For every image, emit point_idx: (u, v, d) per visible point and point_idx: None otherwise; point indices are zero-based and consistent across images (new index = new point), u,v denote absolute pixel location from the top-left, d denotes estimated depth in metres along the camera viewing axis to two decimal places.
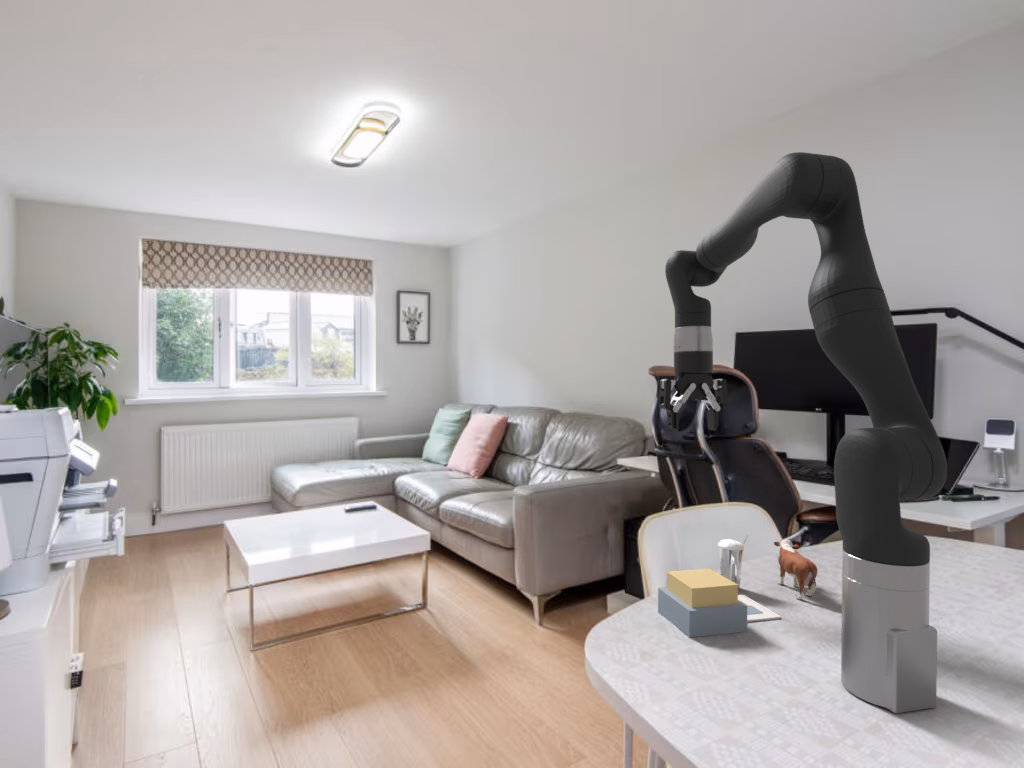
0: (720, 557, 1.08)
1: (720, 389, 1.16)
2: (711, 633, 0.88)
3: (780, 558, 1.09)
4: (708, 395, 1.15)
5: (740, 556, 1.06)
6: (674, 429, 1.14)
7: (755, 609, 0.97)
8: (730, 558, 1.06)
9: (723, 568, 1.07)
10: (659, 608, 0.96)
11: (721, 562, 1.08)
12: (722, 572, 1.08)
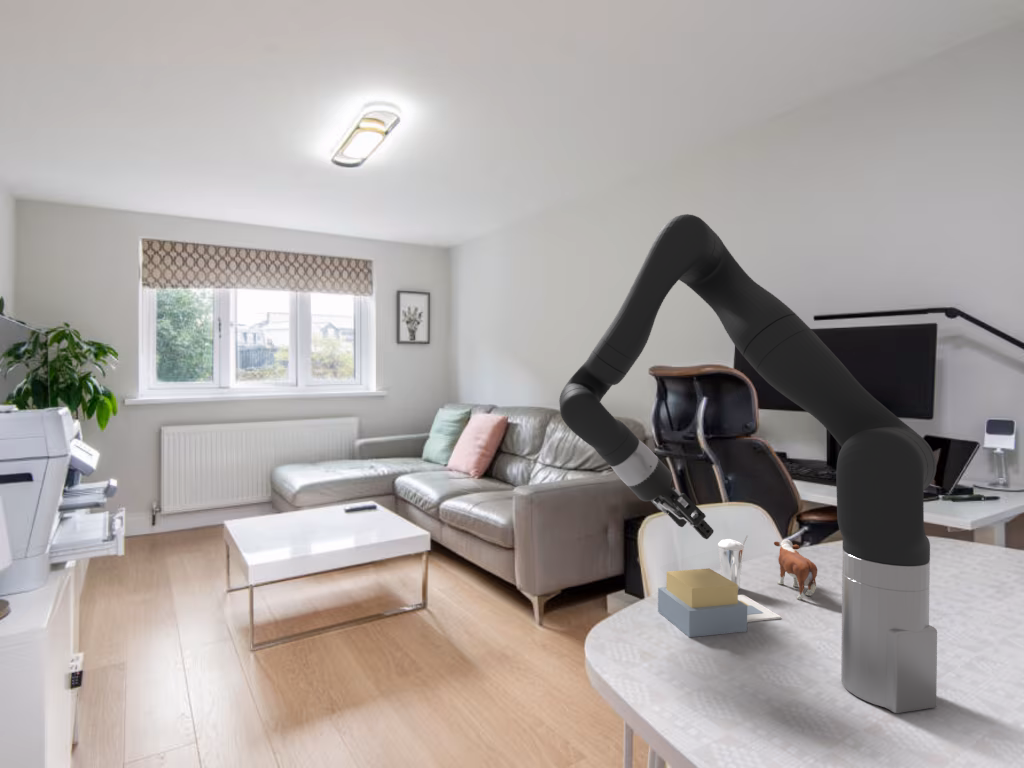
0: (720, 557, 1.08)
1: None
2: (711, 633, 0.88)
3: (780, 558, 1.09)
4: None
5: (740, 556, 1.06)
6: None
7: (755, 609, 0.97)
8: (730, 558, 1.06)
9: (723, 568, 1.07)
10: (659, 608, 0.96)
11: (721, 562, 1.08)
12: (722, 572, 1.08)
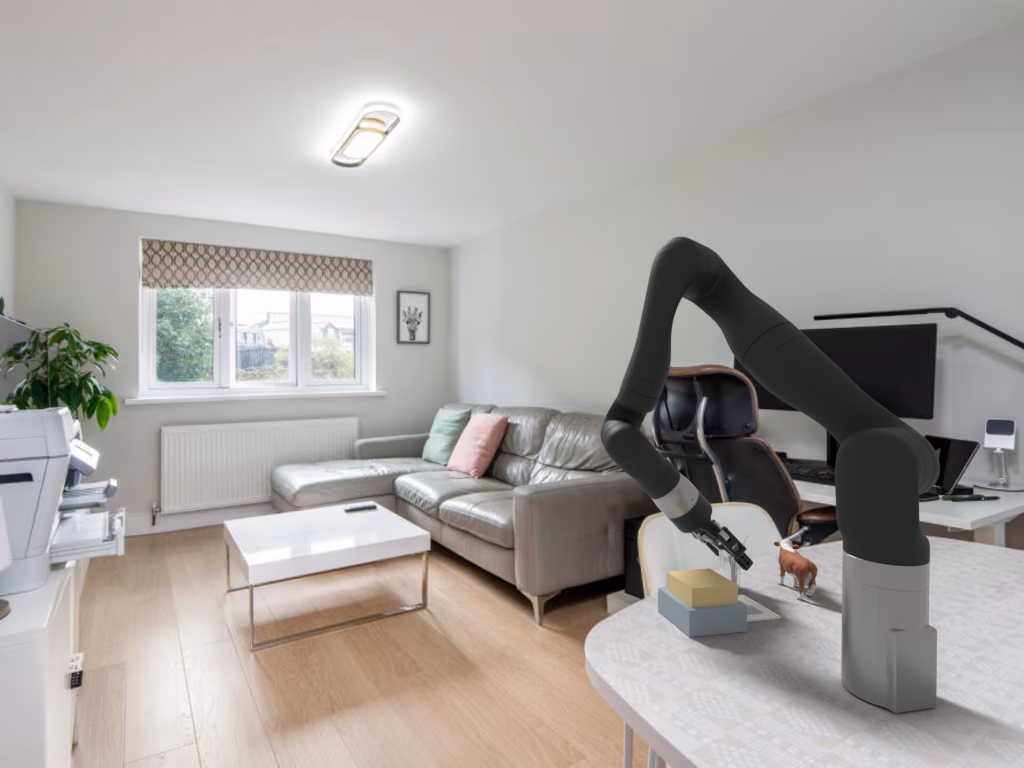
0: (720, 557, 1.08)
1: None
2: (711, 633, 0.88)
3: (780, 558, 1.09)
4: None
5: None
6: None
7: (755, 609, 0.97)
8: (730, 558, 1.06)
9: (723, 568, 1.07)
10: (659, 608, 0.96)
11: (721, 562, 1.08)
12: (722, 572, 1.08)
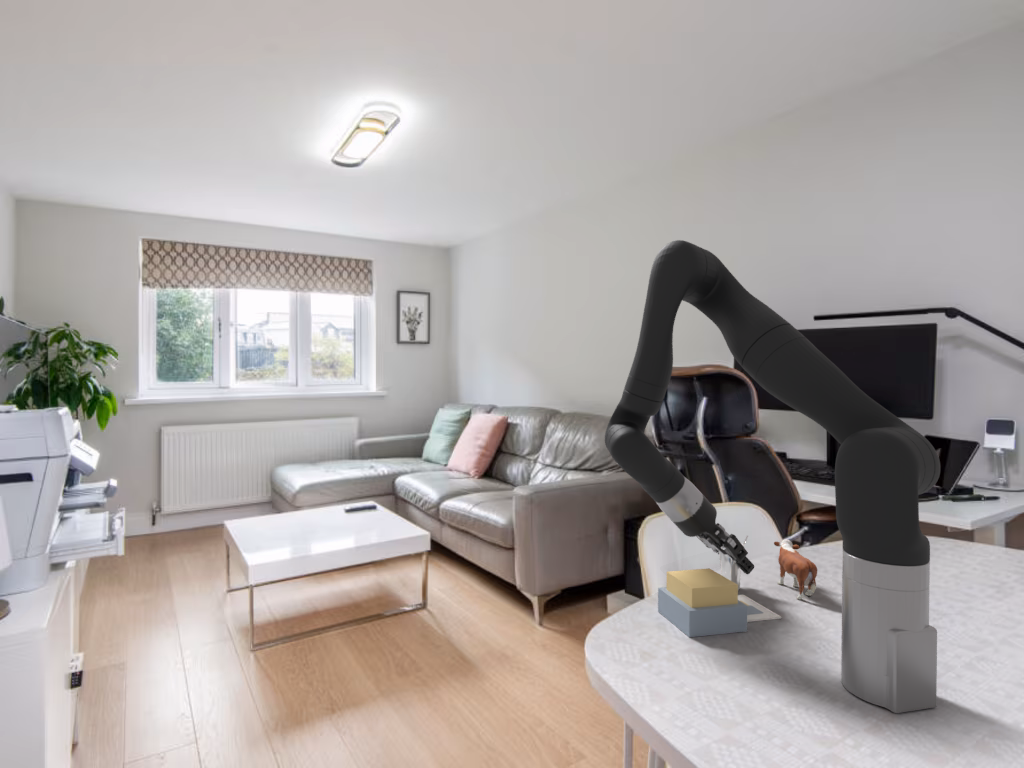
0: (720, 557, 1.08)
1: None
2: (711, 633, 0.88)
3: (780, 558, 1.09)
4: None
5: None
6: None
7: (755, 609, 0.97)
8: None
9: (723, 568, 1.07)
10: (659, 608, 0.96)
11: (722, 562, 1.08)
12: (722, 572, 1.08)
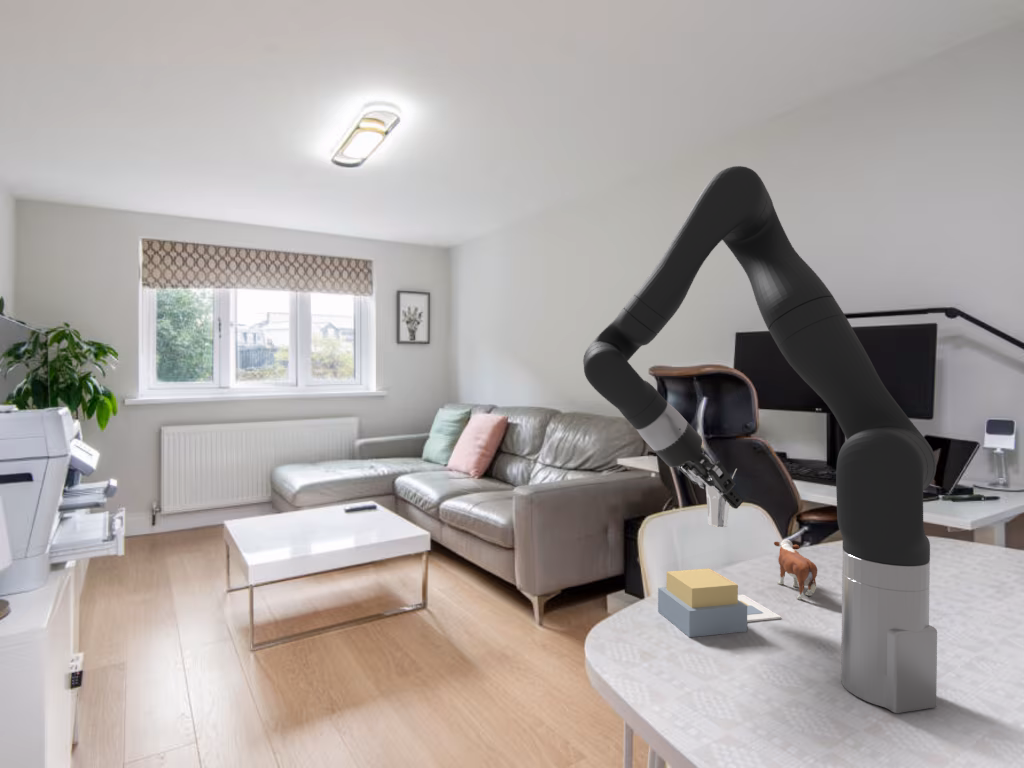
0: (707, 491, 1.00)
1: None
2: (711, 633, 0.88)
3: (780, 558, 1.09)
4: None
5: None
6: (740, 501, 0.98)
7: (755, 609, 0.97)
8: (717, 492, 0.99)
9: (710, 503, 1.00)
10: (659, 608, 0.96)
11: (708, 497, 1.00)
12: (709, 507, 1.00)
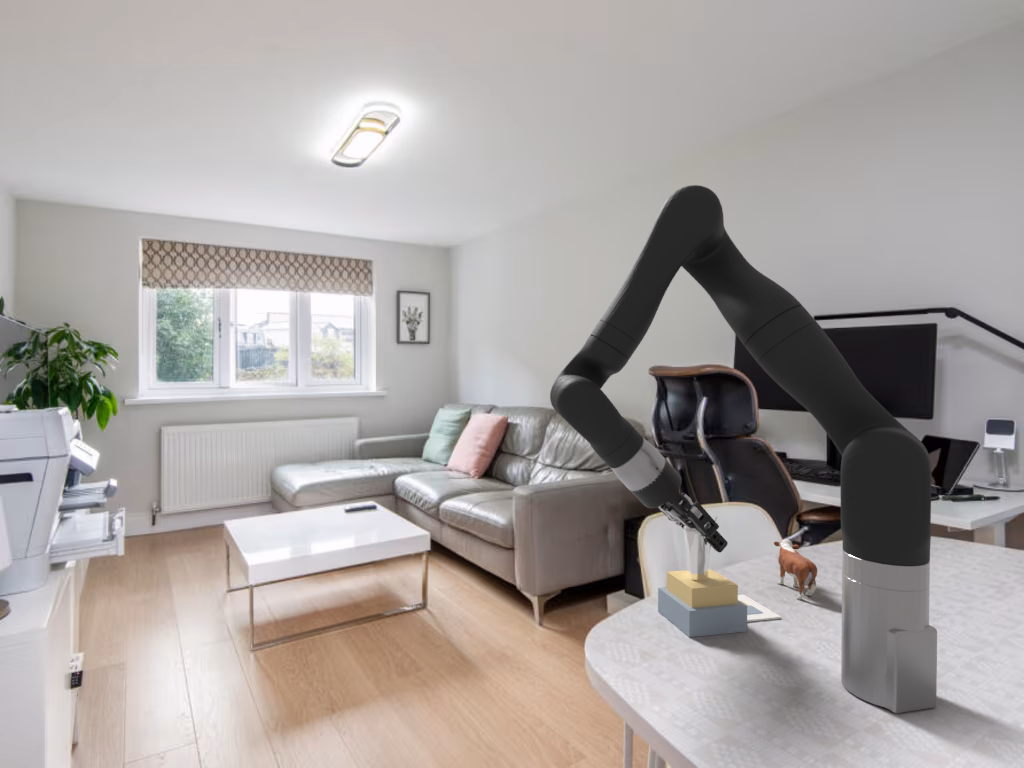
0: (685, 542, 0.93)
1: None
2: (711, 633, 0.88)
3: (780, 558, 1.09)
4: None
5: None
6: None
7: (755, 609, 0.97)
8: (696, 543, 0.91)
9: (689, 554, 0.92)
10: (659, 608, 0.96)
11: (687, 548, 0.93)
12: (688, 559, 0.93)
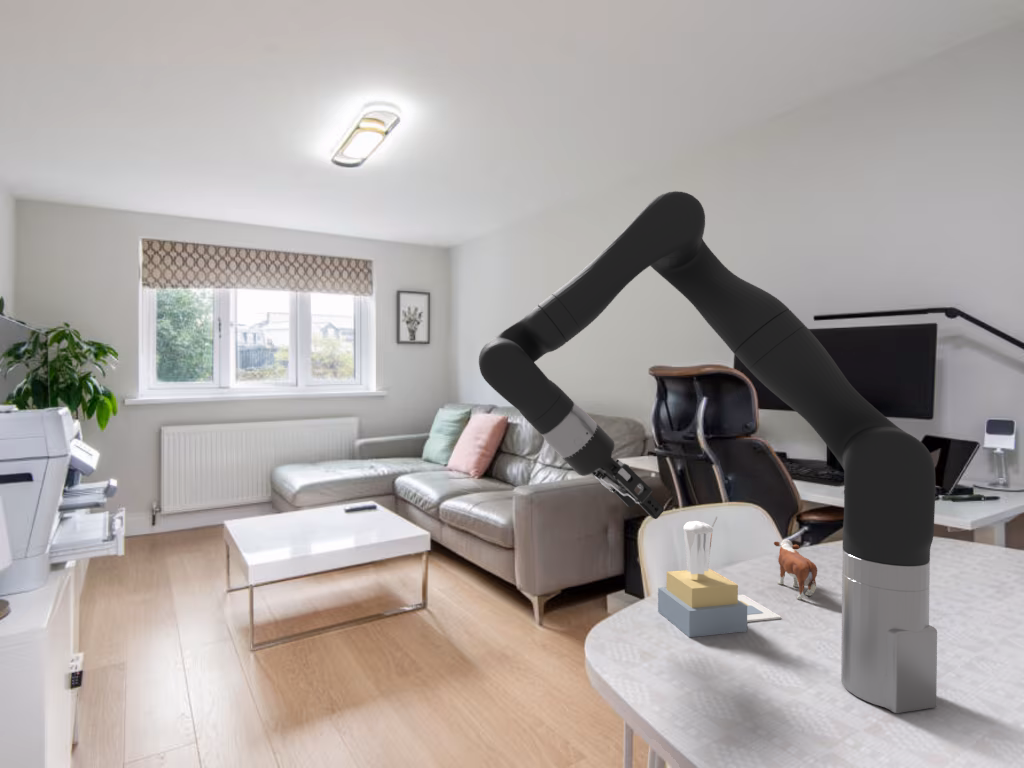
0: (685, 542, 0.93)
1: None
2: (711, 633, 0.88)
3: (780, 558, 1.09)
4: None
5: (708, 540, 0.91)
6: (660, 510, 0.86)
7: (755, 609, 0.97)
8: (696, 543, 0.91)
9: (689, 554, 0.92)
10: (659, 608, 0.96)
11: (687, 548, 0.93)
12: (688, 559, 0.93)
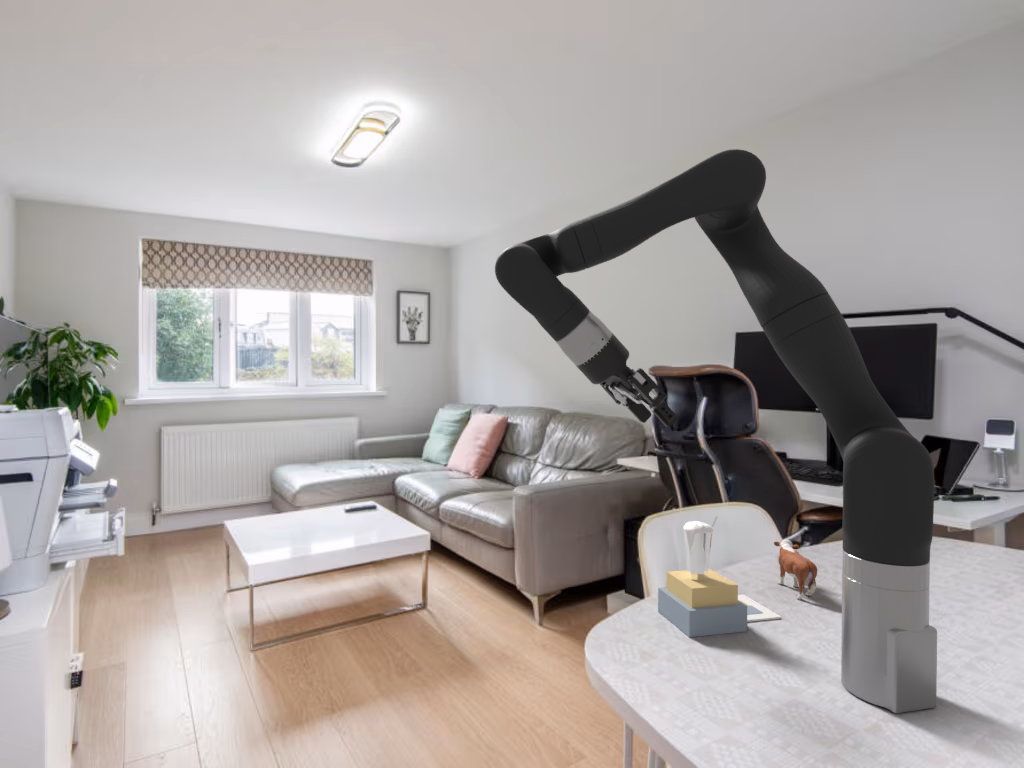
0: (685, 542, 0.93)
1: None
2: (711, 633, 0.88)
3: (780, 558, 1.09)
4: None
5: (708, 540, 0.91)
6: (674, 418, 0.87)
7: (755, 609, 0.97)
8: (696, 543, 0.91)
9: (689, 554, 0.92)
10: (659, 608, 0.96)
11: (687, 548, 0.93)
12: (688, 559, 0.93)
